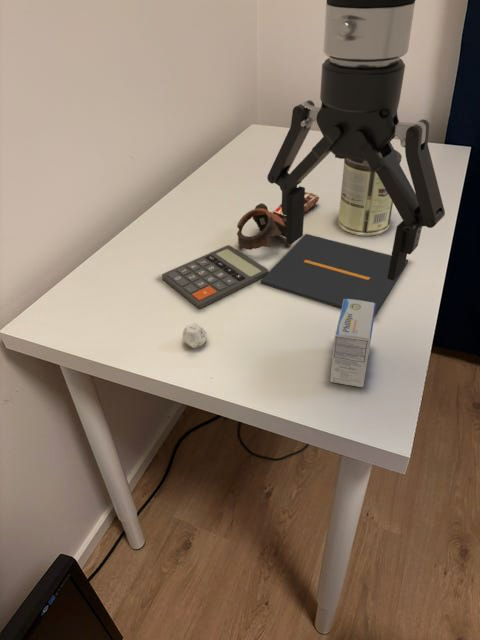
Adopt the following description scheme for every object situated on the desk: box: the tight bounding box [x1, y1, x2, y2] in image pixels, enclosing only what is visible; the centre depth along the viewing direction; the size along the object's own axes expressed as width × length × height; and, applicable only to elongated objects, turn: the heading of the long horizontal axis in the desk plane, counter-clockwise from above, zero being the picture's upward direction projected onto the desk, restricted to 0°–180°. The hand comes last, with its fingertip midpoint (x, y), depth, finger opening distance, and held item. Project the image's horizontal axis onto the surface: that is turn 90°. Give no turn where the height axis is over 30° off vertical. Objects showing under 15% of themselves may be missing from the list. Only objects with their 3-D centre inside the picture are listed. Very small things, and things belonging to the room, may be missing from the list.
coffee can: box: [337, 149, 403, 237], centre depth 93 cm, size 10×10×14 cm
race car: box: [272, 191, 320, 223], centre depth 101 cm, size 5×12×5 cm, turn 137°
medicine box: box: [329, 299, 376, 388], centre depth 64 cm, size 8×4×9 cm, turn 163°
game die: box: [181, 322, 208, 349], centre depth 71 cm, size 4×4×3 cm
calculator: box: [161, 244, 269, 309], centre depth 85 cm, size 12×1×15 cm
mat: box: [260, 233, 409, 318], centre depth 84 cm, size 20×18×1 cm
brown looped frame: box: [236, 203, 292, 251], centre depth 92 cm, size 12×10×8 cm
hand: (341, 255), depth 58 cm, fingers open, 13 cm apart
